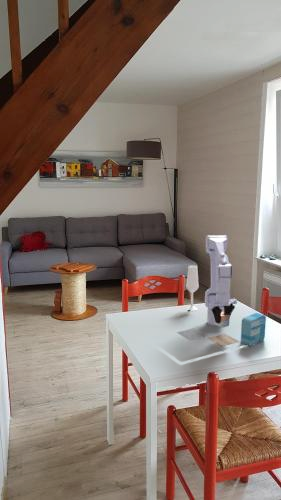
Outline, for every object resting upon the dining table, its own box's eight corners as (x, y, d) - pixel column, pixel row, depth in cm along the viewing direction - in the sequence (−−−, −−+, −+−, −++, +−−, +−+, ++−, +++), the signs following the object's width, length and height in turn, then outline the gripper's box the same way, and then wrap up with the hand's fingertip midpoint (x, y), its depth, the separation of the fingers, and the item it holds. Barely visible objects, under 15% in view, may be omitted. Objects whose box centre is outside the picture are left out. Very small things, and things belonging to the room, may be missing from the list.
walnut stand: (224, 336, 188) (224, 333, 188) (239, 344, 180) (239, 341, 179) (207, 340, 183) (207, 337, 183) (221, 348, 175) (221, 346, 175)
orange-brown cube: (222, 322, 183) (222, 311, 183) (229, 325, 180) (229, 314, 179) (214, 324, 181) (214, 313, 180) (221, 327, 177) (221, 316, 176)
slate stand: (194, 330, 195) (194, 328, 194) (207, 338, 186) (207, 335, 186) (176, 334, 190) (176, 332, 189) (189, 342, 181) (189, 339, 181)
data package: (249, 347, 176) (250, 321, 174) (240, 344, 180) (241, 318, 177) (264, 340, 184) (266, 314, 182) (255, 337, 187) (257, 311, 185)
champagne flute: (191, 306, 229) (192, 264, 224) (200, 309, 224) (201, 266, 219) (183, 309, 224) (183, 266, 220) (192, 312, 219) (193, 268, 215)
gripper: (216, 296, 171) (214, 327, 173) (242, 291, 177) (240, 321, 180) (205, 292, 177) (204, 322, 179) (231, 287, 183) (230, 316, 186)
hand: (222, 321), depth 180 cm, fingers closed on orange-brown cube, 5 cm apart
